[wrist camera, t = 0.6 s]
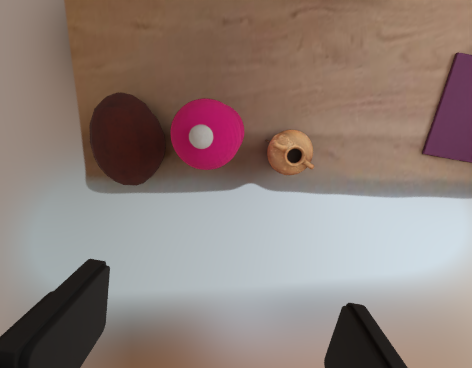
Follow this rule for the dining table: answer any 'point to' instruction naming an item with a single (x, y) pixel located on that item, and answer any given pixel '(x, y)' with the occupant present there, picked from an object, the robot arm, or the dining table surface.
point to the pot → (290, 152)
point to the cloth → (454, 115)
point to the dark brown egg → (126, 139)
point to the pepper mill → (206, 133)
